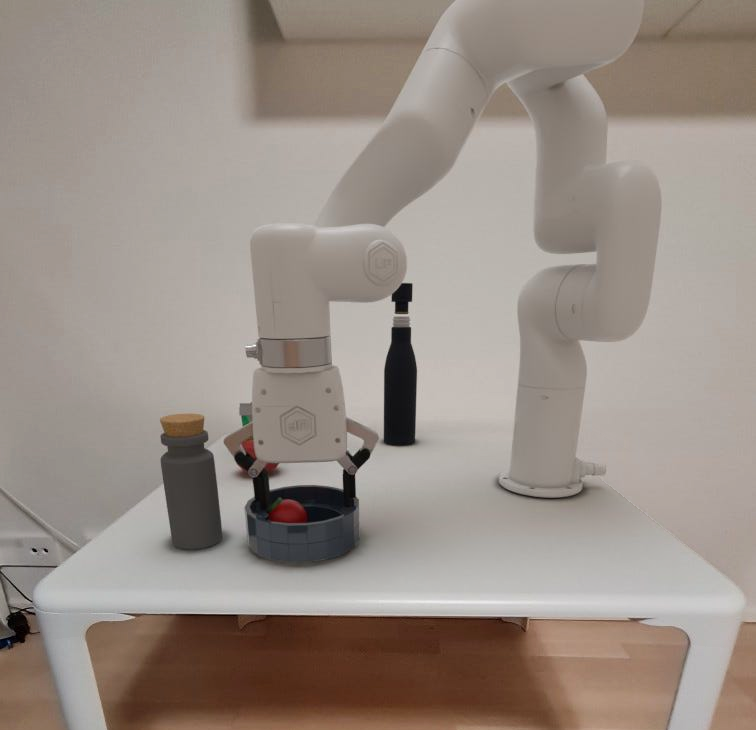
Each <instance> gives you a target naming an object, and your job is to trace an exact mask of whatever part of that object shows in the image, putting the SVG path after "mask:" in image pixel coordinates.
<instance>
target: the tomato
mask: <svg viewBox="0 0 756 730" xmlns="http://www.w3.org/2000/svg"><path fill="white" fill-rule="evenodd" d="M241 445H242V447H243V449H244V450H245V451H247V452H248V453H249V454H250V455H251V456H252V457H254V458H255V459H256V458H257V457H256V455H255V450H254V440H253V435H252V436H250V437H249V438H247V439H245V440H243V441H242V442H241ZM235 463H236V465H237V466H238V467H239V468H240V469H241V470H242V471H243V472H245V473H247V474H248V472H247V471H246V470H245V469H244V468H243V467H241V466H240V465H239V464H238V463H237V462H236V461H235ZM279 465H280V463H267V464H266V466H265V469H266V471H268V473H271V472H273V471H274V470H275V469H276V468H277V467H278V466H279Z"/></svg>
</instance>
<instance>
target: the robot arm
mask: <svg viewBox="0 0 756 730" xmlns="http://www.w3.org/2000/svg"><path fill="white" fill-rule="evenodd" d="M644 9H645V0H454V1H453V2H452V3H451V4H450V5H449V6H448V8H447V9H446V10H445V11H444V12H443V14H442V15H441V16H440V18H439V20H438V21H437V23H436V25H435V27H434V28H433V30H432V31H431V34H430V36H429V38H428V40H427V42H426V44H425V46H424V47H423V49H422V51H421V53H420V54H419V57H418V59H417V60H416V62H415V64H414V66H413V68H412V70H411V72H410V73H409V75H408V77H407V80H406V81H405V83H404V85H403V87H402V88H401V91H400V93H399V94H398V96H397V98H396V99H395V102H394V103H393V105H392V107H391V109H390V111H389V112H388V115H387V116H386V118H385V119H384V121H383V123H382V124H381V125H380V127H378V129H377V130H376V131H375V133H374V134H373V135H372V136H371V138H370V139H369V140H368V141H367V142H366V144H365V145H364V147H362V149H361V151H360V152H359V154H358V155H357V156H356V157H355V159H354V160H353V162H352V163H351V164H350V165H349V167H348V168H347V169H346V170H345V171H344V173H343V174H342V175H341V176H340V178H339V179H338V181H337V182H336V184H335V185H334V187H333V188H332V190H331V191H330V193H329V194H328V196H327V197H326V199H325V201H324V202H323V204H322V206H321V208H320V210H319V212H318V213H317V215H316V218H315V220H314V221H313V223H312V225H311V224H305V223H292V222H289V223H288V222H283V223H282V222H281V223H270V224H263V225H260V226H258V227H256V228H255V229H254V230H253V232H252V233H251V235H250V240H249V247H250V260H251V271H252V281H253V292H254V303H255V313H256V325H257V334H258V338H257V339H256V340H257V341H255V342H253V343H252V344H245V355H246V358H249V359H250V358H253V359H254V360H256V359H257V361H258V362H259V365H260V367H258V368H255V369H254V370H253V375H252V387H251V388H252V389H251V402H252V419H253V421H252V422H250V423H249V424H247V425H245V426H241V427H239V428H238V429H236V430H235V431H232V432H231V433H229V434H227V436H225V437H224V438H223V445H224V446H225V447H226V449H227V450H228V452H229V453H230V454H231V456H232V457H233V460H234V462H235V463H236V462H237V463H238V464H239V465H240V466H241V467H243V468H244V469H245V470H246V471H247V472H248V473H247V472H246V473H247V474H248V475H249V477H251V478H252V488H253V497H254V496H255V501H260V509H261V510H266V509H267V508H268V506H269V503H270V500H271V499H270V490H271V489H270V488H271V487H270V480H269V479H270V478H269V472H268V471H266V469H265V466H266V464H267V463H279V464H304V463H305V464H307V463H331V462H336V463H338V464H339V465H340V466H341V467H342V468H343V469H342V489H343V498H344V506H346V508H348V507H350V498H356V497H357V487H356V474H357V473H358V470H359V469H360V468H361V467H362V466H363V465H365V463H366V462H367V461H368V460H369V459H371V455H372V454H373V451H374V450H375V448H376V446H377V444H378V442H379V439H380V435H379V433H378V432H377V430H374V429H372V428H371V427H367V426H366V425H363V424H361V423H359V422H358V421H355V420H354V419H352V418H349V417H347V412H346V403H345V395H344V394H345V393H344V387H343V381H342V377H341V373H340V369H339V366H337V365H333V358H332V357H333V356H332V337H331V334H332V333H331V314H330V313H331V312H330V302H336V303H341V302H342V303H359V304H360V303H361V304H362V303H364V304H365V303H367V304H368V303H375V302H379V301H383V300H384V299H386V298H389V297H390V296H392V294H393V293H394V292H395V291H396V290H397V289H398V288H399V287H400V285H401V283H404V280H405V277H406V275H407V269H408V256H407V252H406V249H405V246H404V244H403V242H402V241H401V240H400V238H399V237H398V236H397V235H396V234H395V233H394V232H393V231H391V230H390V229H388V228H386V226H387V225H388V223H390V221H391V220H393V218H394V217H395V216H396V215H398V214H399V213H400V212H401V211H402V210H403V209H404V208H406V207H407V206H409V205H410V204H411V203H413V202H414V201H417V199H419V198H420V197H422V196H423V195H425V194H426V193H427V192H429V191H430V190H432V188H434V187H435V186H436V185H438V183H439V182H441V181H442V180H444V178H445V177H446V176H447V175H448V174H449V173H450V172H451V171H452V169H453V168H454V167H455V165H456V163H457V161H458V159H459V158H460V155H461V154H462V152H463V151H464V148H465V146H466V144H467V142H468V140H469V139H470V137H471V134H472V133H473V131H474V129H475V127H476V125H477V124H478V121H479V119H480V118H481V117H482V114H483V112H484V110H485V109H486V107H487V105H488V103H489V102H490V100H491V98H492V96H493V94H494V93H495V92H496V91H497V90H498V88H500V87H501V86H502V85H504V84H506V85H507V87H509V89H510V90H511V91H512V92H513V94H514V95H515V97H517V99H518V100H519V101H520V103H521V104H522V105H523V107H524V109H525V111H526V112H527V114H528V116H529V119H530V120H531V124H532V127H533V131H534V137H535V170H534V187H533V188H534V191H533V211H532V232H533V238H534V241H535V243H536V245H537V247H538V248H539V249H540V250H541V251H542V252H545V253H548V254H553V255H570V254H571V255H574V254H585V253H596V263H581V264H563V265H552V266H548V267H546V268H541V269H540V270H538V271H536V272H535V273H533V274H531V276H529V277H528V278H527V280H525V282H524V283H523V285H522V286H521V289H520V291H519V294H518V298H517V309H516V310H517V323H518V332H519V366H518V367H519V368H518V377H517V386H516V387H517V389H516V399H515V408H514V409H515V410H514V419H513V431H512V440H511V441H512V442H511V453H510V462H509V463H510V465H509V468H507V469H504V470H502V471H501V472H500V473H499V476H498V483H499V485H500V486H502V488H504V489H506V490H508V491H510V492H513V493H516V494H519V495H523V496H528V497H535V498H548V499H549V498H552V499H554V498H567V497H571V496H574V495H577V494H579V493H580V492H581V491H582V490H583V485H584V482H583V478H585V477H586V476H594V477H596V476H597V477H598V476H600V477H601V476H603V477H604V476H606V473H607V465H606V463H605V462H593V463H592V461H591V460H581V459H579V458H577V451H578V450H577V449H578V442H579V435H580V428H581V421H582V413H583V406H584V397H585V391H586V386H587V385H586V383H587V377H588V376H587V375H588V368H587V367H588V366H587V360H586V355H585V353H584V350H583V348H582V345H581V342H580V341H585V342H597V343H617V342H622V341H625V340H627V339H629V338H631V337H632V336H633V335H634V334H635V333H637V331H639V329H640V327H641V326H642V324H643V322H644V320H645V318H646V315H647V312H648V310H649V305H650V300H651V294H652V293H651V292H652V287H653V279H654V272H655V266H656V265H655V264H656V258H657V250H658V241H659V235H660V227H661V218H662V208H663V207H662V203H663V201H662V191H661V187H660V182H659V179H658V177H657V175H656V173H655V172H654V170H653V169H652V168H651V166H649V165H648V164H646V163H645V162H642V161H640V160H632V159H630V160H629V159H628V160H627V159H626V160H621V161H615V162H611V163H607V149H608V132H609V131H608V129H609V127H608V126H609V125H608V116H607V111H606V108H605V106H604V103H603V101H602V99H601V97H600V96H599V94H598V92H597V91H596V89H595V88H594V86H593V85H592V84H591V83H590V81H589V80H588V79H587V77H586V76H585V75H584V74H586V73H590V72H592V71H593V70H596V69H599V68H602V67H604V66H607V65H609V64H611V63H614V62H615V61H616V60H618V59H619V58H620V57H622V55H624V54H625V53H626V52H627V51H628V49H629V48H630V47H631V45H632V44H633V42H634V40H635V39H636V37H637V35H638V33H639V30H640V27H641V24H642V20H643V15H644ZM348 433H349V434H351V435H353V436H355V437H357V438H359V439H361V440H363V442H362V445H361V447H360V448H359V449H358V450H357V451H356V452H355V453H354V455H352V453H351V452H350V451H349V449H348ZM252 435H253V440H254V450H255V455H256V457H257V458H256V459H255V458H254V457H252V456H251V455H250V454H249V453H248V452H247V451H245V450H244V449H243V447H242V445H241V442H242V441H243V440H245V439H247V438H249V437H250V436H252ZM237 463H236V464H237Z"/></svg>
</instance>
